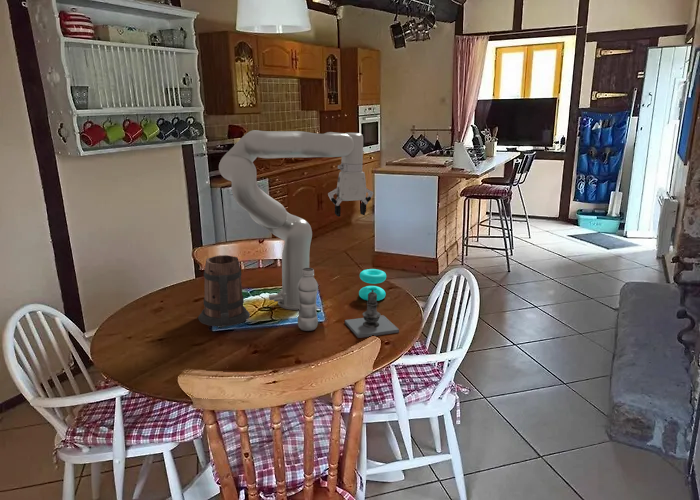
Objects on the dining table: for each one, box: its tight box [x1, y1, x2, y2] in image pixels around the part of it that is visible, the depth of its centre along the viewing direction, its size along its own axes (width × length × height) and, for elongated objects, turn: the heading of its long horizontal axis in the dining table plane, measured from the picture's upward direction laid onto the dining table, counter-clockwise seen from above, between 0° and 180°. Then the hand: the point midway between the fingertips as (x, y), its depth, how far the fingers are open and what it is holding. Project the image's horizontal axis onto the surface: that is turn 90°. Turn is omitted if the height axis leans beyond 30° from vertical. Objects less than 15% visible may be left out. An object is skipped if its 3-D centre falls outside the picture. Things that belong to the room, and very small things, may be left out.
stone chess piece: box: [362, 290, 381, 328], centre depth 167 cm, size 6×6×12 cm
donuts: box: [358, 268, 387, 302], centre depth 193 cm, size 10×10×10 cm
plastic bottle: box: [297, 267, 319, 332], centre depth 163 cm, size 6×7×20 cm
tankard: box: [198, 254, 251, 327], centre depth 168 cm, size 24×17×20 cm
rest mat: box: [344, 314, 400, 339], centre depth 168 cm, size 14×12×1 cm
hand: (350, 215), depth 190 cm, fingers open, 9 cm apart
